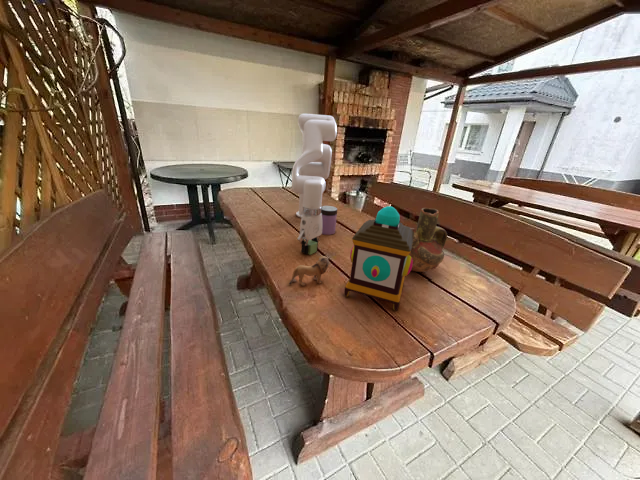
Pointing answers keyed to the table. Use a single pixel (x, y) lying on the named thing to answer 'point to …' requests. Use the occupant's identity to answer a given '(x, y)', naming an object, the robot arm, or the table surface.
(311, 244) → the block
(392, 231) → the decorative lantern
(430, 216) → the ceramic vessel
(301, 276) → the lion figurine
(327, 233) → the jar
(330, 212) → the jar lid
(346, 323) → the table surface
